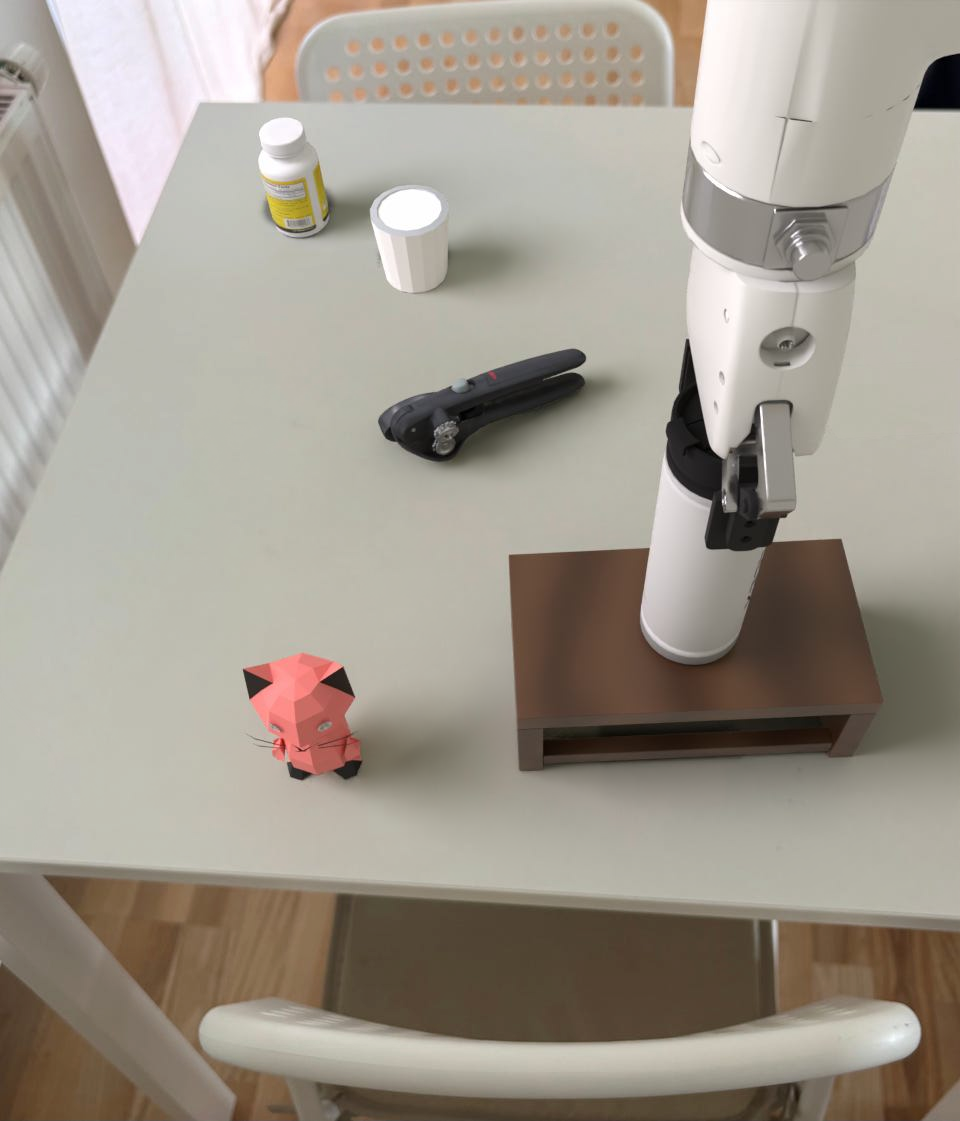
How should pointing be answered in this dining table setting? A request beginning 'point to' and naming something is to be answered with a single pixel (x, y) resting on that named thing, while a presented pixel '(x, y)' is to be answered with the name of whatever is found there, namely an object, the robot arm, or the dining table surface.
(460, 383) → the can opener
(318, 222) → the supplement bottle
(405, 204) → the shot glass
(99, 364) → the dining table surface
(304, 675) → the cat figurine
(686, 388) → the travel mug
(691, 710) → the shelf
